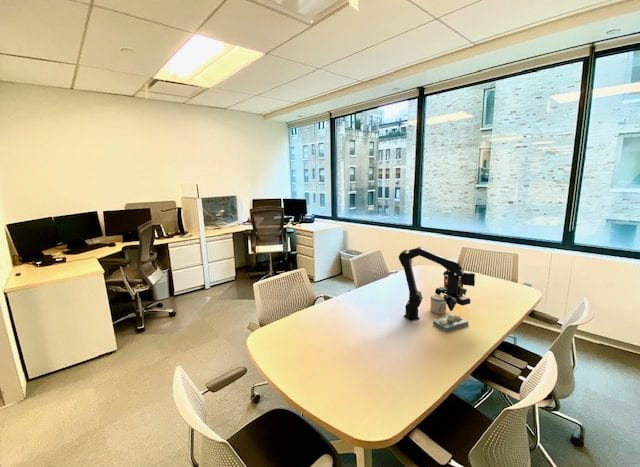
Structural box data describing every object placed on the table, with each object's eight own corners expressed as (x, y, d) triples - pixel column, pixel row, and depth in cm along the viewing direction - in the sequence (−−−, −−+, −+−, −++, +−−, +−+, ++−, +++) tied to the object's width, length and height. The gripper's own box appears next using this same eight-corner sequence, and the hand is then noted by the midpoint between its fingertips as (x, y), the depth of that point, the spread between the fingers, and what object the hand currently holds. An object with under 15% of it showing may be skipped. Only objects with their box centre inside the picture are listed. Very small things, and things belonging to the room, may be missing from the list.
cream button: (443, 328, 156) (443, 321, 156) (438, 325, 159) (439, 319, 159) (448, 326, 158) (448, 320, 157) (443, 324, 161) (443, 318, 160)
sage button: (450, 323, 158) (451, 317, 157) (446, 320, 161) (446, 314, 160) (455, 322, 159) (455, 316, 159) (450, 319, 162) (450, 313, 162)
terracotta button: (457, 324, 160) (457, 317, 160) (452, 321, 163) (453, 315, 163) (461, 322, 162) (462, 316, 161) (457, 320, 164) (457, 314, 164)
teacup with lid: (441, 316, 171) (442, 297, 169) (426, 310, 178) (427, 292, 176) (451, 309, 178) (452, 291, 176) (437, 305, 185) (438, 287, 183)
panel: (445, 332, 153) (446, 327, 153) (432, 324, 162) (433, 320, 161) (468, 325, 160) (468, 321, 159) (454, 318, 168) (454, 314, 167)
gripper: (479, 286, 151) (476, 314, 154) (450, 275, 168) (448, 301, 171) (463, 290, 146) (461, 319, 149) (435, 278, 163) (433, 305, 166)
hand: (451, 310), depth 159 cm, fingers closed
